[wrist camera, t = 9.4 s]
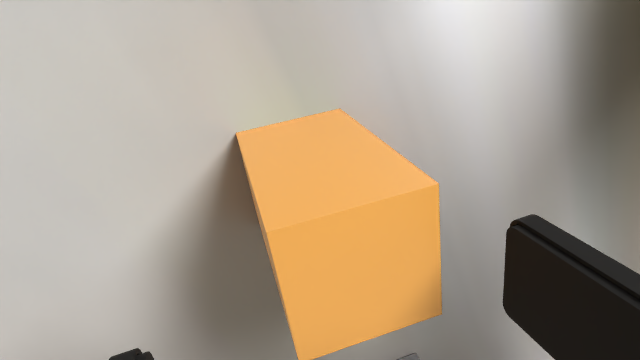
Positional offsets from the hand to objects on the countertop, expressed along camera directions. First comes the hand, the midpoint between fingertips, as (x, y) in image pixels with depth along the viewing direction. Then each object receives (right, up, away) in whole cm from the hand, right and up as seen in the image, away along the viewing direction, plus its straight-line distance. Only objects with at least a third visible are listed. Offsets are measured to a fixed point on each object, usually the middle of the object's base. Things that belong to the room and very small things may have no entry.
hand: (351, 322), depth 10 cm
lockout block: (-2, +4, +8) cm, 9 cm away
